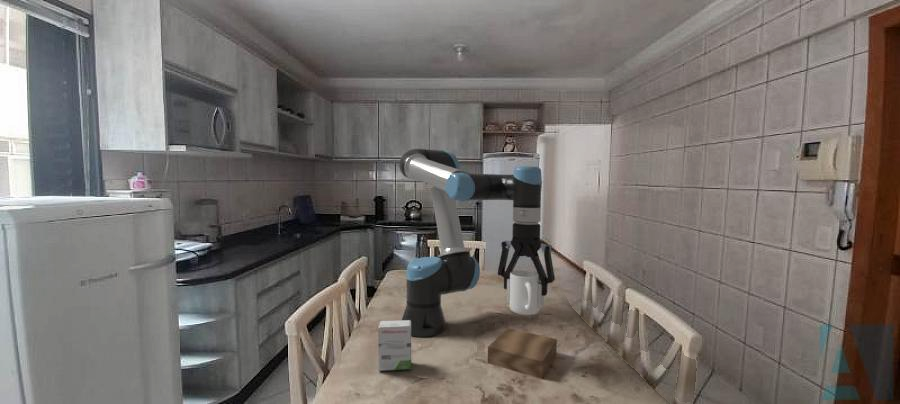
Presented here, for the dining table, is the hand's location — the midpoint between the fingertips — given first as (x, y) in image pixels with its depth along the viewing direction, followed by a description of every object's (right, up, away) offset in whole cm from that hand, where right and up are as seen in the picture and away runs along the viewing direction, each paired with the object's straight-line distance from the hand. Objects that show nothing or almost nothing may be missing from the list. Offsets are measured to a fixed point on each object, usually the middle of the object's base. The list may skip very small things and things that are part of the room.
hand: (524, 303), depth 98 cm
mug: (0, -2, -2) cm, 3 cm away
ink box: (-36, -16, -4) cm, 39 cm away
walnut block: (0, -16, +1) cm, 16 cm away
